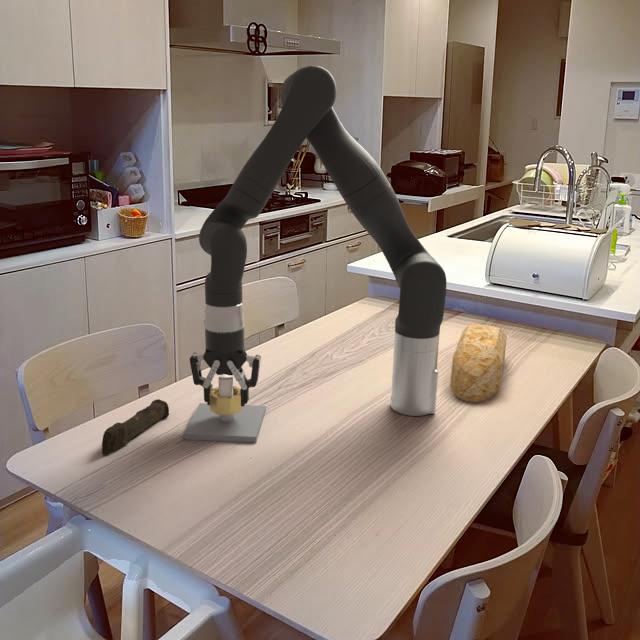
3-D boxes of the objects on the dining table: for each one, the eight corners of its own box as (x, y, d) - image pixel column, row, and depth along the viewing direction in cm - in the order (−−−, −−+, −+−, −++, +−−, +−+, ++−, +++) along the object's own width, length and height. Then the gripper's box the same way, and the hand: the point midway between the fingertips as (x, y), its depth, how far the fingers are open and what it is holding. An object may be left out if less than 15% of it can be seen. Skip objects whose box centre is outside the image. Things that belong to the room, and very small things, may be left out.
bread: (496, 406, 154) (500, 363, 151) (445, 399, 158) (449, 357, 154) (506, 351, 187) (509, 315, 184) (464, 346, 190) (467, 311, 187)
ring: (244, 402, 144) (244, 386, 143) (239, 415, 138) (239, 399, 137) (214, 401, 145) (213, 385, 144) (208, 414, 139) (207, 397, 138)
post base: (265, 411, 149) (265, 366, 146) (256, 442, 136) (255, 393, 133) (200, 408, 150) (198, 363, 147) (184, 439, 136) (181, 390, 133)
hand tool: (154, 414, 147) (153, 394, 146) (170, 418, 146) (169, 397, 144) (91, 455, 131) (89, 432, 129) (108, 459, 129) (106, 436, 128)
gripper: (264, 319, 139) (264, 398, 145) (192, 317, 140) (195, 395, 145) (258, 332, 132) (259, 414, 137) (182, 329, 133) (186, 410, 138)
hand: (226, 403), depth 141 cm, fingers closed on ring, 6 cm apart
